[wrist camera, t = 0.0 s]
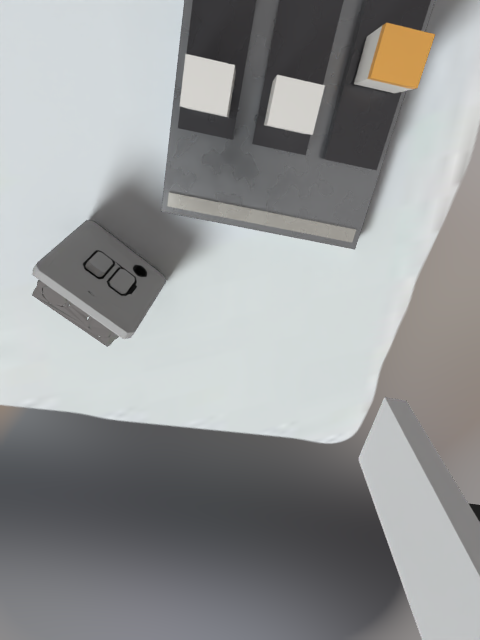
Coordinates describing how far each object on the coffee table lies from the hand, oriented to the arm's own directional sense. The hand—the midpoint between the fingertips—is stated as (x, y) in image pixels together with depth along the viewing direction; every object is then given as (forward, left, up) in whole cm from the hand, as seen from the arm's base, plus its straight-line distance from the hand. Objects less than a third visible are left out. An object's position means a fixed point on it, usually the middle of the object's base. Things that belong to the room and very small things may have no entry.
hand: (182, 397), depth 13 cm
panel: (-14, +4, -28) cm, 32 cm away
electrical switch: (+7, -9, -28) cm, 30 cm away
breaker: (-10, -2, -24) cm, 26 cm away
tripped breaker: (-14, +10, -24) cm, 30 cm away
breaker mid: (-10, +4, -24) cm, 26 cm away
